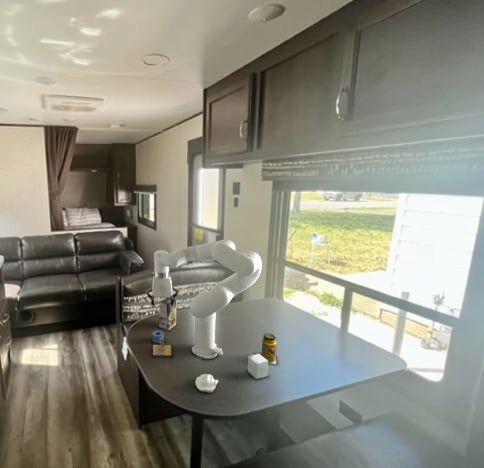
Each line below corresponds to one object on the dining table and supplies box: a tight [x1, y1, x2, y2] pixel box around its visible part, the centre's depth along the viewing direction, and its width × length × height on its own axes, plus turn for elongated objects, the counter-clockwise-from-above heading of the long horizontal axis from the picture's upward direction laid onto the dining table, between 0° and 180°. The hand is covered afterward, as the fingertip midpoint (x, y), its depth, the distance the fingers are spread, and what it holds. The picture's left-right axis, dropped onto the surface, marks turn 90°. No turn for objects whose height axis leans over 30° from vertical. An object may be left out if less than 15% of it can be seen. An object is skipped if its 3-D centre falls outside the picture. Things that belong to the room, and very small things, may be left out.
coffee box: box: [158, 297, 177, 331], centre depth 174 cm, size 9×6×16 cm
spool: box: [152, 330, 164, 344], centre depth 158 cm, size 6×6×5 cm
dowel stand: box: [152, 337, 172, 356], centre depth 148 cm, size 9×9×7 cm
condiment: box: [255, 332, 277, 365], centre depth 141 cm, size 7×8×12 cm
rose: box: [194, 373, 219, 393], centre depth 124 cm, size 10×4×10 cm
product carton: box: [247, 353, 269, 380], centre depth 131 cm, size 6×6×7 cm
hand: (162, 305), depth 156 cm, fingers open, 9 cm apart
